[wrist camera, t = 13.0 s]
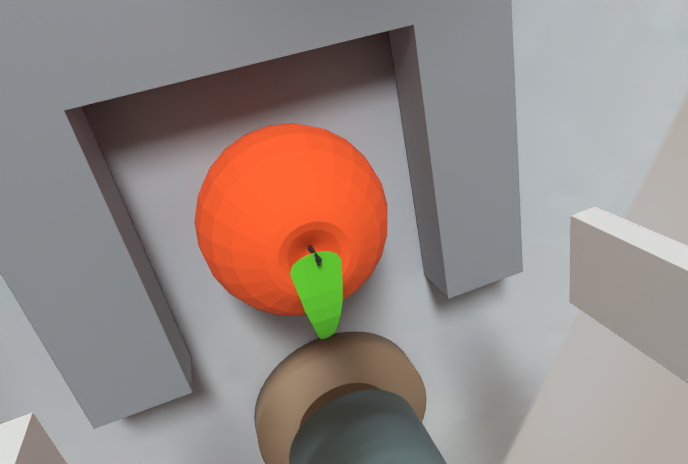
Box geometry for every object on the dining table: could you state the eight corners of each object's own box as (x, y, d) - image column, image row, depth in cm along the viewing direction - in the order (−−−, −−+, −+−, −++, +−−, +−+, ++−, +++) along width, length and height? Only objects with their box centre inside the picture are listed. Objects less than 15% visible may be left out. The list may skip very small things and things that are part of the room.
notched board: (102, 388, 22) (94, 428, 20) (-114, 2, 15) (-165, -2, 13) (493, 250, 26) (522, 271, 23) (467, -111, 19) (505, -129, 16)
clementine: (367, 260, 24) (434, 344, 17) (224, 302, 22) (242, 412, 16) (340, 93, 20) (412, 123, 14) (169, 130, 19) (164, 183, 12)
